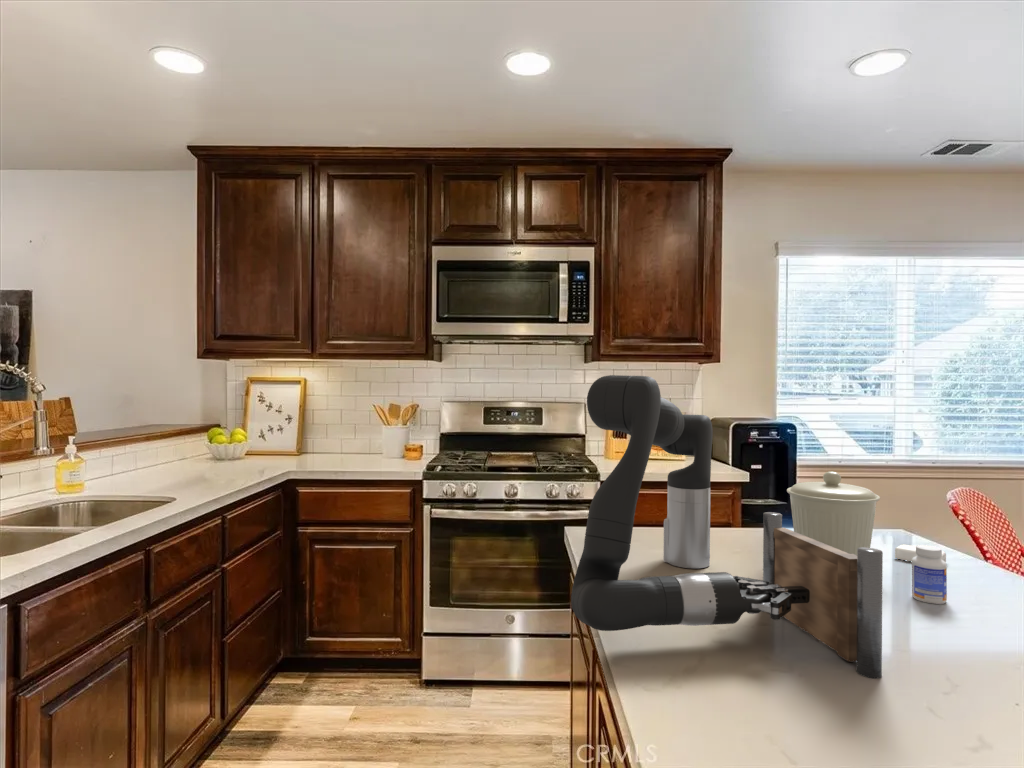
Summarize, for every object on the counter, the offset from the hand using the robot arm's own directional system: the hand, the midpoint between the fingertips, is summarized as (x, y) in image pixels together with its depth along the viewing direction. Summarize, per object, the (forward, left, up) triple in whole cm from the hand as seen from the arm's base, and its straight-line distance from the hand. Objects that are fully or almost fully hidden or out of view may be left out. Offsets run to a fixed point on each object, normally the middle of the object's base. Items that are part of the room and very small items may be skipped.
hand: (806, 594), depth 94 cm
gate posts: (+1, +1, -7) cm, 7 cm away
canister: (-3, +45, -7) cm, 45 cm away
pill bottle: (+15, +34, -7) cm, 37 cm away
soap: (+12, +63, -8) cm, 65 cm away
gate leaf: (+1, +1, -6) cm, 7 cm away
